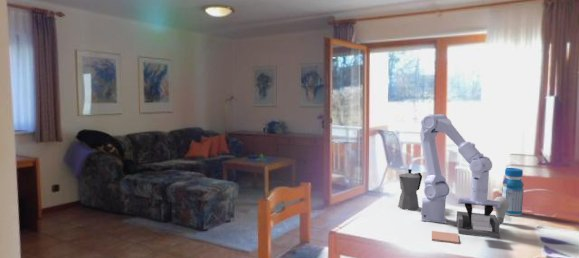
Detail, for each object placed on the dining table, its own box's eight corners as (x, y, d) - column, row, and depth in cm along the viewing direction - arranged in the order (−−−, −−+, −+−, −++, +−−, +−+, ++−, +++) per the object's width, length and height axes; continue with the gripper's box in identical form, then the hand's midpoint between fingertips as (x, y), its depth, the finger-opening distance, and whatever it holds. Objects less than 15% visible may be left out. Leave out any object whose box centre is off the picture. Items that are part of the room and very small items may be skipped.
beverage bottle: (513, 217, 175) (516, 171, 173) (496, 211, 183) (498, 167, 181) (526, 215, 178) (529, 170, 177) (509, 210, 186) (512, 166, 184)
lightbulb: (510, 225, 163) (512, 199, 162) (494, 224, 164) (495, 198, 163) (505, 221, 169) (507, 195, 168) (489, 220, 170) (491, 194, 169)
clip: (473, 229, 143) (473, 220, 143) (471, 222, 150) (471, 214, 150) (492, 231, 141) (492, 222, 141) (488, 224, 148) (489, 215, 148)
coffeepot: (407, 212, 180) (409, 172, 179) (390, 207, 188) (392, 168, 187) (428, 207, 189) (430, 168, 188) (412, 202, 197) (413, 165, 196)
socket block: (458, 233, 153) (459, 220, 153) (456, 223, 166) (456, 211, 165) (499, 238, 149) (500, 224, 148) (494, 227, 161) (495, 214, 161)
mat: (431, 240, 146) (432, 238, 146) (431, 232, 154) (431, 230, 154) (459, 243, 143) (459, 241, 143) (457, 235, 151) (457, 233, 151)
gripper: (459, 189, 153) (457, 224, 154) (502, 193, 148) (500, 229, 150) (458, 185, 160) (456, 219, 161) (499, 188, 155) (497, 223, 156)
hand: (477, 223), depth 156 cm, fingers closed on plug, 4 cm apart
